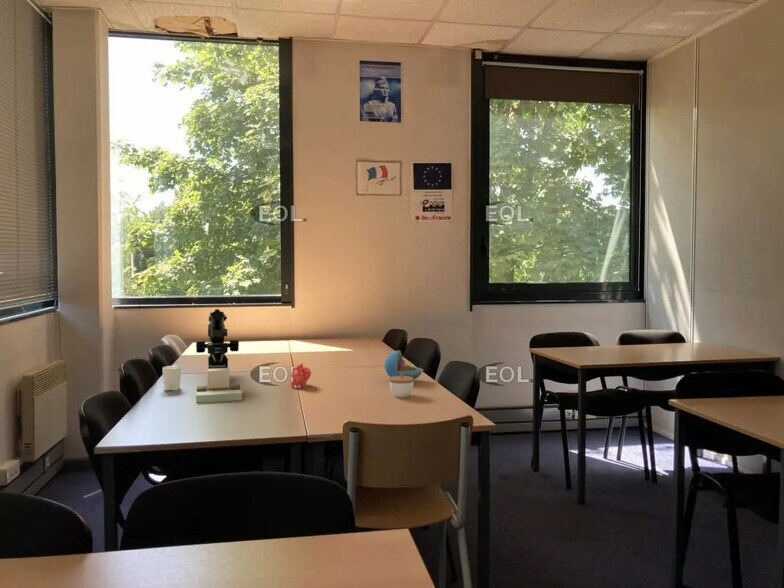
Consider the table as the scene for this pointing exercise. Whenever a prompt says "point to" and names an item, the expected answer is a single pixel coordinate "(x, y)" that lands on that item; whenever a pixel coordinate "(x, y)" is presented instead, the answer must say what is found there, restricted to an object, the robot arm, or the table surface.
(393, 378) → the lidded jar
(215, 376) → the cream block
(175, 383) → the white cup
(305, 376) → the anatomical heart
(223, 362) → the robot arm
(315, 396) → the table surface
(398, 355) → the educational model
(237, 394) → the pad
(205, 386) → the strip
